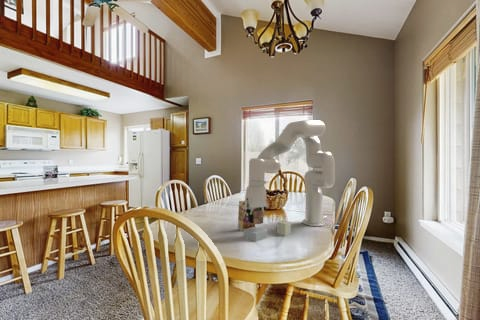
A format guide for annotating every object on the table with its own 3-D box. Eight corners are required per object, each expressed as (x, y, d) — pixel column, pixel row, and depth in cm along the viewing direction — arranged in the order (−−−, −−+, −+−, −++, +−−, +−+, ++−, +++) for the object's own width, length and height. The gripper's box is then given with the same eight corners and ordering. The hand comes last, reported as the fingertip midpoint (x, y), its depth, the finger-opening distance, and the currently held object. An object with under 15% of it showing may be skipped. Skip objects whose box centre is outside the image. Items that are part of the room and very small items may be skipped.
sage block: (282, 231, 121) (282, 220, 121) (290, 233, 118) (291, 222, 118) (276, 233, 118) (277, 221, 118) (285, 236, 114) (285, 224, 114)
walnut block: (257, 220, 115) (257, 208, 115) (263, 223, 111) (263, 210, 110) (248, 222, 112) (248, 209, 112) (254, 224, 108) (254, 211, 108)
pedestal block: (255, 234, 117) (255, 226, 117) (267, 238, 111) (267, 230, 111) (243, 237, 112) (244, 229, 112) (256, 242, 106) (256, 233, 106)
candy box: (242, 231, 120) (242, 202, 120) (237, 229, 124) (238, 200, 124) (255, 228, 125) (256, 200, 125) (251, 226, 129) (251, 199, 128)
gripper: (266, 182, 119) (265, 217, 119) (237, 183, 110) (236, 221, 110) (275, 184, 112) (274, 221, 113) (245, 185, 104) (244, 226, 104)
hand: (255, 221), depth 111 cm, fingers closed on walnut block, 5 cm apart
